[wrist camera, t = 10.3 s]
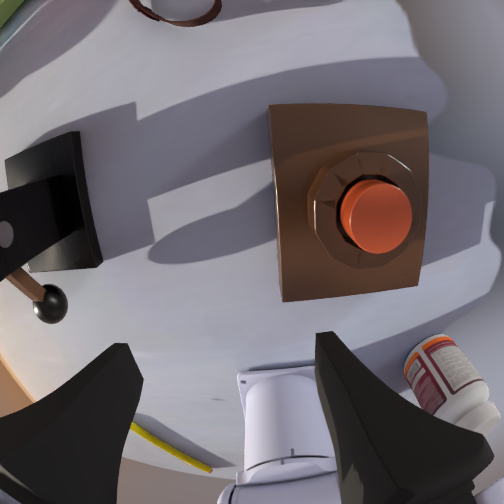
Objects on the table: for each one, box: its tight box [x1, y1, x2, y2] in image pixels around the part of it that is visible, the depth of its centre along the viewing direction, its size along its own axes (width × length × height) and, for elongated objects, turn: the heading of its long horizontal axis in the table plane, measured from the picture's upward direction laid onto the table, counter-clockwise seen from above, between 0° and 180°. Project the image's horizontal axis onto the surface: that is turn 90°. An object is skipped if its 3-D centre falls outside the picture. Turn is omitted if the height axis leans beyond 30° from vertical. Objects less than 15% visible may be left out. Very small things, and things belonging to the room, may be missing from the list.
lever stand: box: [0, 131, 103, 282], centre depth 13 cm, size 10×8×10 cm
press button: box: [340, 179, 412, 254], centre depth 14 cm, size 4×4×2 cm
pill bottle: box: [403, 334, 501, 437], centre depth 18 cm, size 6×6×11 cm
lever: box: [6, 267, 68, 324], centre depth 14 cm, size 11×3×3 cm
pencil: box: [130, 422, 213, 473], centre depth 28 cm, size 16×1×1 cm
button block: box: [267, 103, 429, 302], centre depth 16 cm, size 12×10×4 cm
